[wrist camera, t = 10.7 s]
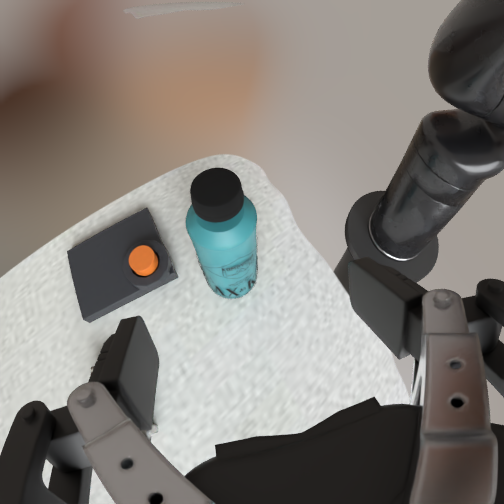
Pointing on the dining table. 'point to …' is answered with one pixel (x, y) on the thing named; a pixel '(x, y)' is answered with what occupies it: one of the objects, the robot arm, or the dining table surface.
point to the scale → (117, 266)
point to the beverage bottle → (223, 232)
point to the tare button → (143, 260)
